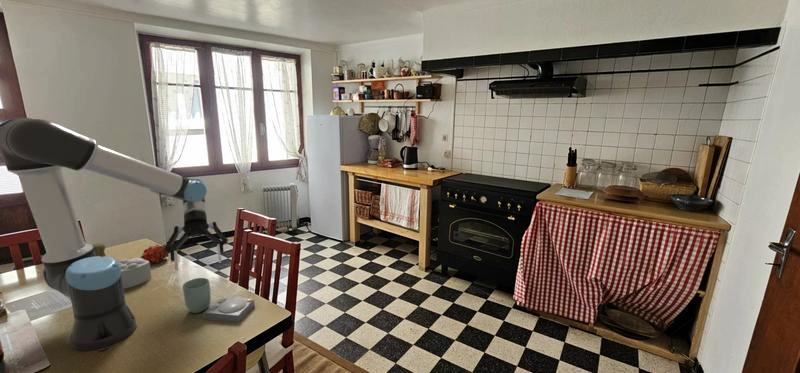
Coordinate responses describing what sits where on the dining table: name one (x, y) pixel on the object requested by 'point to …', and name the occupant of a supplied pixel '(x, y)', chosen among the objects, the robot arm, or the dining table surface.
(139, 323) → the dining table surface
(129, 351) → the dining table surface
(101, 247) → the cork
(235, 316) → the soap dish with soap
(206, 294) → the cup
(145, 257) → the dragon fruit
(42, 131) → the robot arm
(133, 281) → the white bumpy block
